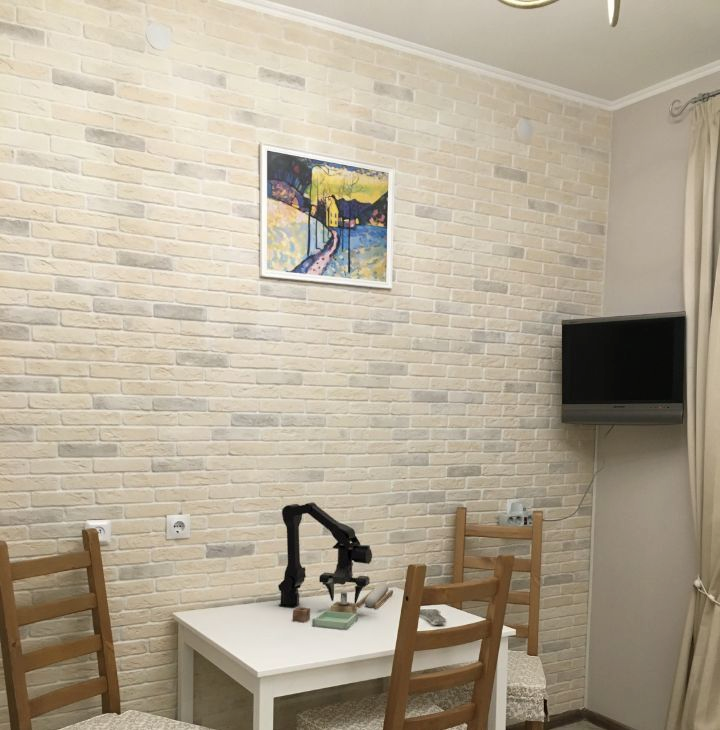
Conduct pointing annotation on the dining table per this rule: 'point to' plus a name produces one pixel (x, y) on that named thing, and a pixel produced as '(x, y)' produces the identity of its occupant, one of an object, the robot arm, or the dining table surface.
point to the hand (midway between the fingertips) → (343, 602)
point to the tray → (334, 620)
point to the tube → (376, 594)
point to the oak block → (344, 607)
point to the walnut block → (301, 614)
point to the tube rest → (378, 601)
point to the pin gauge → (343, 599)
